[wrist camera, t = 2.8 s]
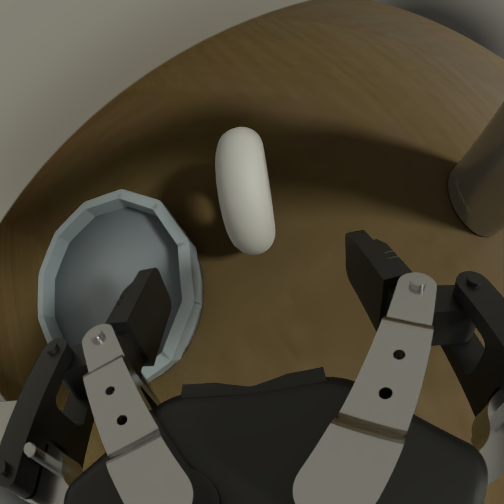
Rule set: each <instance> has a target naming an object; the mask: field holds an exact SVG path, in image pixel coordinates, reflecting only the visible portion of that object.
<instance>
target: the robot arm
mask: <svg viewBox="0 0 504 504" xmlns="http://www.w3.org/2000/svg"><path fill="white" fill-rule="evenodd" d="M448 191H449V196H450V199H451V202H452V205H453V207H454V209H455V211H456V213H457V214H458V216H459V218H460V219H461V220H462V221H463V223H464V224H465V225H466V226H467V227H468V228H469V229H470V230H471V231H473V232H474V233H476V234H478V235H480V236H483V237H489V236H493V235H494V234H496V233H498V232H499V231H501V230H502V229H504V102H503V104H502V105H501V107H500V108H499V109H498V111H497V112H496V114H495V115H494V117H493V118H492V120H491V121H490V122H489V124H488V125H487V127H486V128H485V129H484V131H483V132H482V133H481V135H480V136H479V137H478V139H477V140H476V141H475V143H474V144H473V145H472V147H471V148H470V149H469V150H468V152H467V153H466V154H465V155H464V156H463V158H462V159H461V160H460V161H459V163H458V164H457V165H456V166H455V168H454V169H453V170H452V171H451V173H450V175H449V179H448ZM345 246H346V271H347V275H348V279H349V281H350V283H351V284H352V286H353V288H354V290H355V292H356V293H357V295H358V297H359V299H360V301H361V303H362V305H363V306H364V308H365V310H366V312H367V314H368V316H369V318H370V320H371V322H372V324H373V326H374V328H375V330H376V332H377V333H376V336H375V338H374V341H373V343H372V345H371V348H370V350H369V352H368V355H367V357H366V359H365V361H364V364H363V366H362V368H361V370H360V372H359V375H358V377H357V379H356V381H352V380H348V379H344V378H338V377H325V373H324V369H323V367H320V368H316V369H311V370H306V371H300V372H295V373H289V374H286V375H283V376H280V377H278V378H275V379H272V380H269V381H267V382H264V383H261V384H258V385H255V386H250V387H247V386H237V385H228V384H221V383H205V384H187V385H183V387H182V393H181V395H179V396H176V397H173V398H171V399H169V400H167V401H164V402H163V403H160V401H159V400H158V398H157V396H156V395H155V393H154V391H153V390H152V388H151V386H150V384H149V383H148V381H147V379H146V377H145V376H144V374H143V373H142V371H141V370H142V367H143V366H154V364H155V361H156V357H157V354H158V350H159V347H160V344H161V340H162V337H163V334H164V331H165V327H166V324H167V321H168V318H169V315H170V312H171V299H170V296H169V294H168V291H167V289H166V287H165V284H164V282H163V279H162V277H161V274H160V272H159V270H158V269H157V268H150V269H144V270H140V271H139V272H138V274H137V275H136V277H135V279H134V281H133V282H132V283H131V284H130V285H129V286H128V287H127V288H125V289H124V291H123V292H122V294H121V296H120V297H119V298H120V299H118V301H117V303H116V305H115V306H114V308H113V310H112V312H111V313H110V315H109V317H108V319H107V321H106V323H105V324H100V325H97V326H95V327H93V328H92V329H90V330H89V331H88V332H87V333H86V334H85V336H84V337H83V340H82V343H81V344H78V345H75V346H72V347H70V346H69V344H68V343H67V341H66V340H65V339H64V338H56V339H54V340H52V341H51V342H49V343H48V344H47V345H46V346H45V347H44V349H43V350H42V352H41V354H40V356H39V358H38V360H37V361H36V363H35V365H34V367H33V369H32V371H31V373H30V375H29V377H28V379H27V381H26V383H25V385H24V387H23V389H22V391H21V394H20V396H19V398H18V400H17V402H16V405H15V407H14V409H13V412H12V414H11V417H10V419H9V422H8V424H7V427H6V429H5V432H4V435H3V438H2V441H1V443H0V485H1V486H2V487H4V488H5V489H7V490H9V491H10V492H12V493H14V494H16V495H18V496H19V497H20V498H22V499H23V500H25V501H27V502H29V503H31V504H484V499H485V495H486V490H487V485H488V484H490V483H491V482H493V481H494V480H496V479H497V478H499V477H500V476H502V475H503V474H504V297H503V296H502V295H501V294H500V293H499V292H498V291H497V290H496V288H495V287H494V286H493V285H492V284H491V283H490V282H489V281H488V280H487V279H486V278H485V277H484V276H482V275H481V274H479V273H476V272H472V271H465V272H462V273H460V274H459V275H458V276H457V278H456V282H455V285H441V286H438V285H436V283H435V281H434V280H433V279H432V278H431V277H429V276H428V275H425V274H422V273H413V272H412V271H411V270H410V269H409V268H408V267H407V266H406V264H405V263H404V262H403V261H402V260H401V259H400V258H399V257H398V256H397V255H396V253H395V252H393V250H392V249H391V248H390V247H389V246H388V245H387V244H386V243H384V242H382V241H380V240H377V239H376V240H373V239H372V238H371V237H370V236H369V235H368V234H367V233H366V232H365V231H364V230H360V231H355V232H349V233H346V236H345ZM475 328H477V329H478V331H479V332H480V334H481V335H482V337H483V339H484V342H485V348H484V347H483V345H482V344H481V342H480V341H479V339H478V337H477V336H476V334H475V333H474V331H475ZM434 345H441V347H442V349H443V351H444V352H445V354H446V356H447V358H448V360H449V362H450V364H451V366H452V368H453V370H454V372H455V374H456V376H457V378H458V380H459V382H460V384H461V386H462V388H463V390H464V392H465V394H466V397H467V399H468V401H469V403H470V406H471V408H472V410H473V413H474V415H475V419H474V422H473V425H472V438H471V442H472V444H473V446H472V445H471V444H469V443H467V442H465V441H463V440H461V439H459V438H457V437H455V436H453V435H451V434H449V433H448V432H446V431H444V430H442V429H440V428H438V427H436V426H434V425H432V424H430V423H429V422H427V421H425V420H423V419H421V418H419V417H418V416H416V415H414V414H413V413H414V410H415V407H416V404H417V400H418V397H419V394H420V390H421V386H422V383H423V379H424V375H425V371H426V366H427V362H428V357H429V353H430V347H431V346H434ZM61 383H63V385H64V386H65V387H66V388H67V389H68V390H69V391H70V394H69V396H68V399H67V402H66V405H65V407H64V410H63V413H62V412H61V411H60V410H59V409H58V408H57V405H56V402H55V398H56V395H57V392H58V390H59V387H60V385H61ZM94 419H95V422H96V425H97V428H98V431H99V434H100V437H101V439H102V442H103V445H104V447H105V450H106V453H105V454H104V455H103V456H101V457H100V458H99V459H98V460H97V461H96V462H95V463H93V464H92V465H91V466H90V467H89V468H88V469H87V470H85V471H84V472H83V470H82V468H83V463H84V458H85V454H86V450H87V446H88V441H89V437H90V433H91V430H92V426H93V422H94Z"/></svg>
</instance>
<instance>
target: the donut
mask: <svg viewBox="0 0 504 504" xmlns="http://www.w3.org/2000/svg"><path fill="white" fill-rule="evenodd" d="M215 171H216V184H217V191H218V198H219V204H220V208H221V213H222V218H223V221H224V224H225V228H226V231H227V233H228V236H229V238H230V240H231V241H232V243H233V245H234V246H235V247H237V248H238V249H239V250H240V251H242V252H243V253H246V254H249V255H257V254H261V253H263V252H265V251H266V250H268V249H269V248H270V246H271V245H272V244H273V241H274V238H275V223H274V214H273V206H272V199H271V192H270V185H269V178H268V171H267V165H266V158H265V152H264V147H263V143H262V140H261V138H260V136H259V135H258V134H257V132H255V131H254V130H252V129H250V128H247V127H236V128H233V129H230V130H228V131H227V132H226V133H224V134H223V135H222V137H221V138H220V139H219V142H218V145H217V149H216V155H215Z"/></svg>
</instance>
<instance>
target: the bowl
mask: <svg viewBox="0 0 504 504" xmlns="http://www.w3.org/2000/svg"><path fill="white" fill-rule="evenodd" d="M150 268H157V269H158V270H159V272H160V274H161V277H162V279H163V282H164V284H165V287H166V289H167V291H168V294H169V296H170V299H171V312H170V315H169V318H168V321H167V324H166V327H165V331H164V334H163V337H162V340H161V344H160V347H159V350H158V354H157V357H156V361H155V364H154V366H143V367H142V370H141V371H142V373H143V374H144V376H145V377H146V379H147V381H148V383H149V382H150V381H152V380H154V379H156V378H158V377H160V376H161V375H163V374H164V373H166V372H167V371H168V370H169V369H171V368H172V367H173V366H174V365H175V364H176V363H177V362H178V361H179V360H180V359H181V357H182V356H183V354H184V353H185V351H186V350H187V348H188V347H189V345H190V343H191V341H192V339H193V337H194V335H195V333H196V330H197V327H198V324H199V321H200V316H201V311H202V306H203V293H204V291H203V276H202V270H201V265H200V261H199V258H198V255H197V250H196V247H195V245H194V244H193V243H192V241H191V240H190V238H189V236H188V235H187V233H186V232H185V231H184V230H183V228H182V227H181V226H180V225H179V224H178V222H177V221H176V219H175V218H174V217H173V215H172V214H171V213H170V211H169V210H168V209H167V208H166V206H165V205H164V204H163V203H162V202H161V201H160V200H157V199H154V198H150V197H147V196H144V195H140V194H137V193H133V192H130V191H127V190H123V189H120V190H117V191H114V192H111V193H108V194H105V195H102V196H100V197H97V198H94V199H91V200H88V201H85V202H84V203H83V204H82V205H81V206H80V207H79V208H78V209H77V210H76V211H75V212H74V213H73V214H72V215H71V216H70V217H69V218H68V219H67V220H66V221H65V222H64V223H63V224H62V225H61V226H60V227H59V229H58V230H57V231H56V233H55V234H54V236H53V238H52V241H51V243H50V246H49V248H48V250H47V253H46V255H45V258H44V261H43V263H42V266H41V269H40V271H39V279H38V318H39V319H38V320H39V323H40V325H41V328H42V331H43V333H44V336H45V339H46V341H47V344H48V343H49V342H51V341H52V340H54V339H56V338H64V339H65V340H66V341H67V343H68V344H69V346H70V347H72V346H75V345H78V344H81V343H82V340H83V337H84V336H85V334H86V333H87V332H88V331H89V330H90V329H92V328H93V327H95V326H97V325H100V324H105V323H106V321H107V319H108V317H109V315H110V313H111V312H112V310H113V308H114V306H115V305H116V303H117V301H118V299H120V298H119V297H120V296H121V294H122V292H123V291H124V289H125V288H127V287H128V286H129V285H130V284H131V283H132V282H133V281H134V279H135V277H136V275H137V274H138V272H139V271H140V270H144V269H150Z"/></svg>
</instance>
